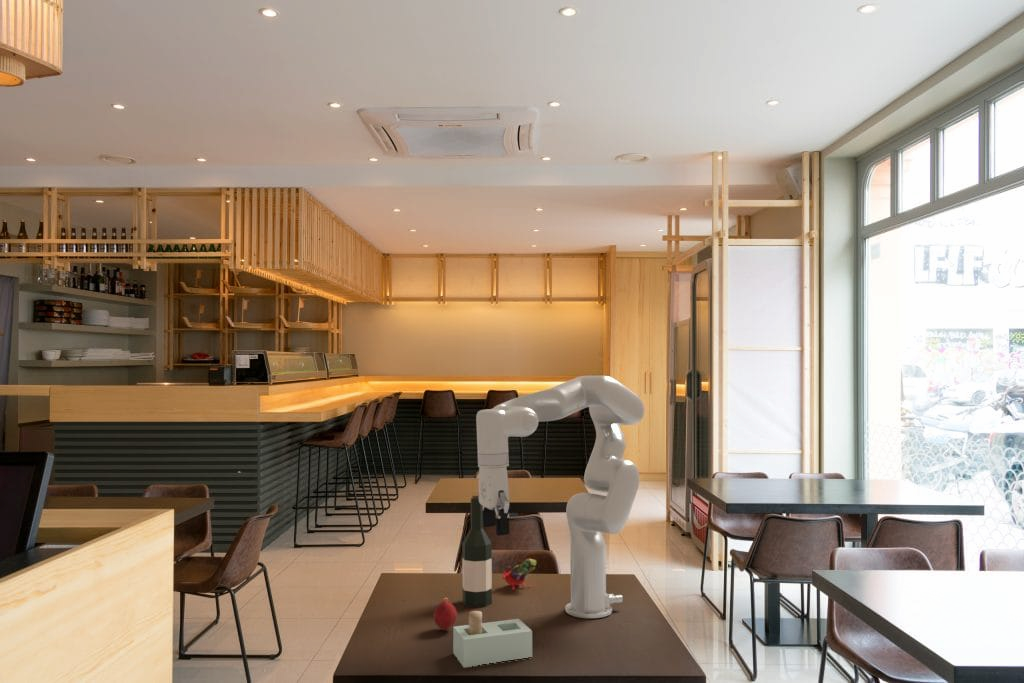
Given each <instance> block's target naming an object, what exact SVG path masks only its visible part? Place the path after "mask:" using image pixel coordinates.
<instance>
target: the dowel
mask: <svg viewBox="0 0 1024 683" xmlns="http://www.w3.org/2000/svg"><path fill="white" fill-rule="evenodd" d="M482 623H483V612H482V611H480V610H471V611H469V612H468V625H469V635H476V634H482Z"/></svg>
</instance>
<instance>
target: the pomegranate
mask: <svg viewBox="0 0 1024 683" xmlns="http://www.w3.org/2000/svg"><path fill="white" fill-rule="evenodd" d="M457 619H458V611H457V609H456V606H454V605H453V604H452V603H451V602H450V601H449V598H448V597H444V598H443V600H442V601H441V602H440V603H439V604H438V605H437V606H436V607H435V609H434V612H433V620H434V623H435V625H436V626H437V627H438V628H440V629H441V630H443V631H444V632H445V631H448V630H449V629H450V628H452V627H453V626H454V624H455V623H456V621H457Z"/></svg>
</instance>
